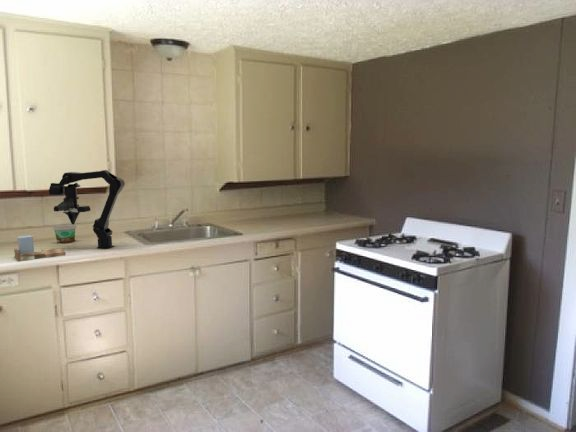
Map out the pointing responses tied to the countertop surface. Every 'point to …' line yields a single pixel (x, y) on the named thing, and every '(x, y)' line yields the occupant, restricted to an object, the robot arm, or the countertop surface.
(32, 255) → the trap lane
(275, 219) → the countertop surface
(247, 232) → the countertop surface
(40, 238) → the countertop surface
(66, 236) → the food container
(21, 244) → the blue-grey block
